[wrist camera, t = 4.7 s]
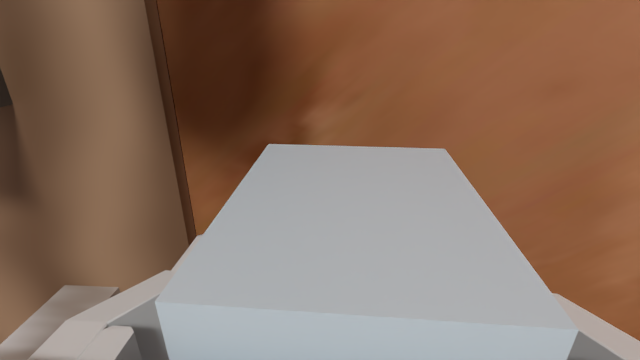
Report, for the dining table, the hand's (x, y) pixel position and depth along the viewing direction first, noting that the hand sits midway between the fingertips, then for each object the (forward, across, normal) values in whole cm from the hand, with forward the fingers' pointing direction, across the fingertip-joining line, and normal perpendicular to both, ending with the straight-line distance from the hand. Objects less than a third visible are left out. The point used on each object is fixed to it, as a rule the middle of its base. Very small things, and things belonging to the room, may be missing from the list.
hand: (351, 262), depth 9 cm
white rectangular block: (+2, 0, 0) cm, 2 cm away
